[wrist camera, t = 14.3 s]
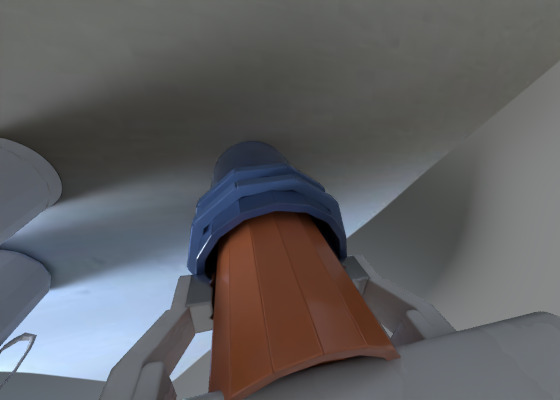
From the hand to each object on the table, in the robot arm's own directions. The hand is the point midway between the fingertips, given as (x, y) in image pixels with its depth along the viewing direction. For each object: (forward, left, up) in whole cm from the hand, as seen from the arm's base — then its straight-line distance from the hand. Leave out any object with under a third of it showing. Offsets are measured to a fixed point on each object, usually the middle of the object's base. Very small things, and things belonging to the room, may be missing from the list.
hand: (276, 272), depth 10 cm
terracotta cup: (0, 0, -5) cm, 5 cm away
